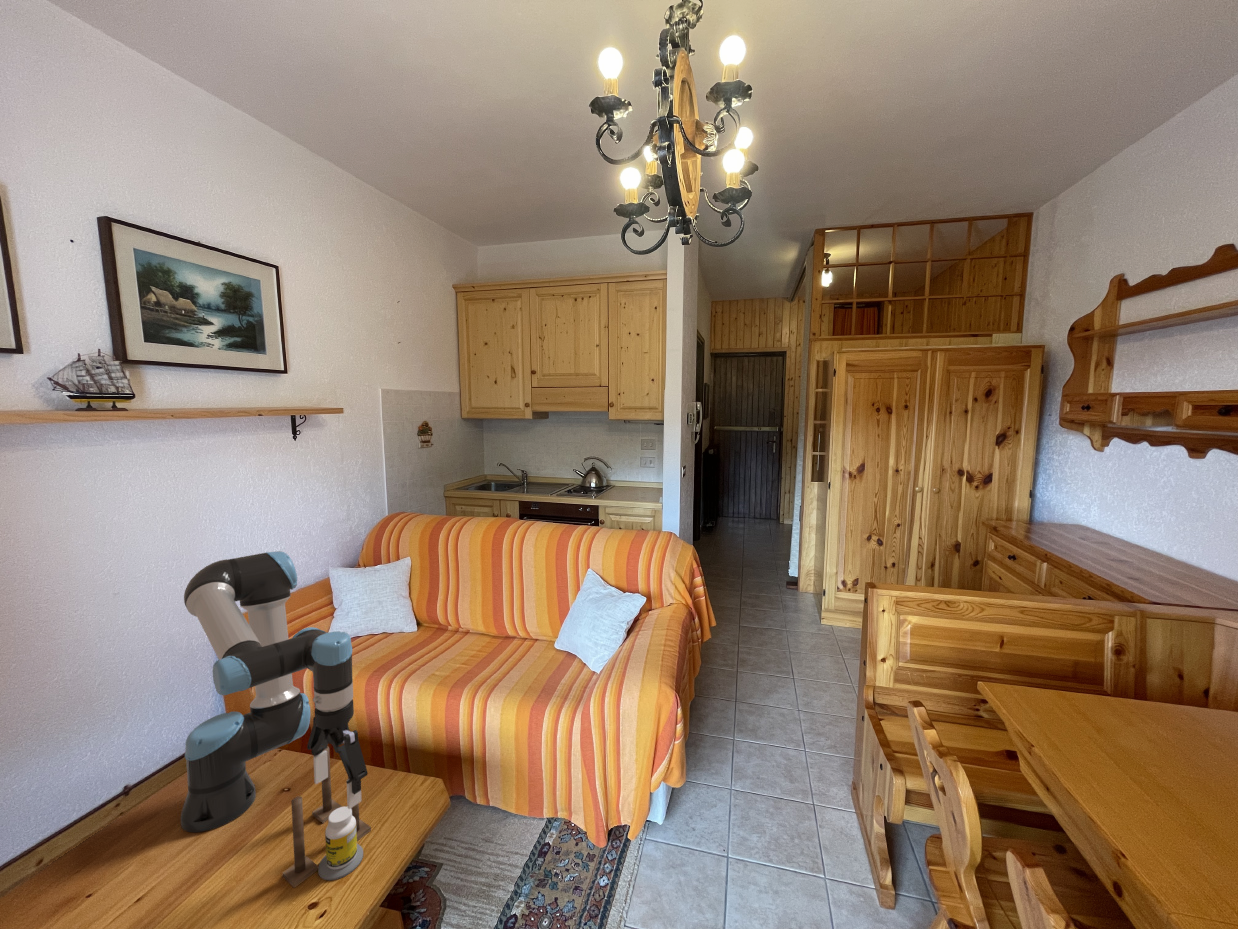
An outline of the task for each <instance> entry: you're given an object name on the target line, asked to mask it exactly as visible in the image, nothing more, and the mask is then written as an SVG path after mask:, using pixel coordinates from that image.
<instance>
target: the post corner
mask: <svg viewBox="0 0 1238 929" xmlns="http://www.w3.org/2000/svg"><path fill="white" fill-rule="evenodd" d="M347 779H349V777H348V776H347ZM359 804H360V802H359V803H358V804H356V805H355V806H353V807H352V808H351V809H352V816H354V817H355V819H356V832H357V842H358V841H359V840H361V839H362V838H364V837H365V836H366V835H368V834H369V833H370V832H371V831H372V827H371V826H370V825H369V824H367V823H366V822H365V821H363V820H362V819H361V818H360V808H359V807H360V805H359Z"/></svg>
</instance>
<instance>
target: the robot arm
mask: <svg viewBox="0 0 1238 929" xmlns="http://www.w3.org/2000/svg"><path fill="white" fill-rule="evenodd" d="M297 585H298V573H297V571H296V567H295V564H294V562H293V560H292V559H291V557H290V556H289V555H288V554H287V552H285V551H280V550H279V551H269V552H267V551H266V552H262V553H256V554H252V555H250V554H249V555H244V556H241V557H236V558H235V557H234V558H228V559H221V560H218V561H215V562H212V563H209V564H208V565H206V566H204V567H203V568H202V569H200V570H199V571H198V572H196V573H195V574H194V575H193V577H192V578H191V579H190V580H189V582H188V584H187V585H186V588H185V590H184V594H183V601H184V605H185V607H186V609H187V612H188V613H189V614H190V615H192V616H193V617H197V620H198V621H199V623H200V626H201V627H202V629H203V632H204V633H205V635H206V637H207V639H208V642H209V643H210V645H211V647H212V649H213V651H214V653H215V655H216V656H217V658H218V660H216V661H215V662H214V664H213V667H212V679H213V684H214V688H215V691H216V692H217V694H218V695H220V696H227V695H230V694H235V693H237V692H243V691H246V690H249V689H250V688H255V689H254V690H255V697H254V699H253V700H252V701H251V702H250V704H249V710H250V711H249V712H248V713H244V714H242V713H241V712H239V711H230V712H224V713H221V714H217V715H215V716H213V717H210V718H208V719H207V720H204V721H202V723H200V724H198V725H196V727H195V728H193V730H192V731H191V732H189V734H188V735H187V737H186V740H185V749H184V750H185V752H184V758H185V761H186V762H185V763H186V773H187V774H186V775H187V776H186V777H187V794H186V797H185V801H184V803H183V806H182V809H181V813H180V825H181V829H182V830H184V831H186V832H189V833H202V832H208V831H210V830H214V829H217V828H219V827H222V826H224V825H226V824H228V823H231V822H232V821H234V820H235V819H237V818H239V817H241V816H242V815H243V814H244V813H246V812H247V810H249V809H250V807H251V806H252V805H253V803H254V802H255V800H256V794H257V793H256V785H255V784H254V782H253V780H252V778H251V777H250V775H249V773H248V771H247V767H246V765H247V764H246V762H248V761H251V760H252V759H255V758H257V757H260V756H262V755H264V754H267V753H268V752H271V751H274V750H276V749H278V748H280V747H283V746H285V745H289V744H290V743H292V742H293V741H296V740H297V739H300V738H302V737H303V736H304V735H305V734H306V732H307V731H308V729H309V727H310V721H311V705H310V700H309V697H308V696H307V694H306V693H303V692H301V690H300V688H299V687H296V686H294V682H293V674H295V673H297V672H300V671H302V670H305V669H308V670H309V671H310V672H312V677H313V678H312V679H313V694H314V696H313V698H312V701H313V703H314V717H313V720H312V722H313V723H312V724H313V725H312V728H311V732H310V735H309V738H308V742H307V746H306V747H307V750H308V751H310V750H311V755H312V756H313V775H314V777H313V778H314V784H315V785H318V784H319V783H322V781H323V780H324V779H326V778H328V759H327V751H326V750H325V751H323V750H324V749H326V748H328V747H327V746H328V745H332V748H333V749H334V752H335V753H337V754H339V755H338V756H339V758H340V760H341V762H342V764H343V767H344V770H345V773H346V775H347V779H346V781H345V783H346V795H347V796H346V799H347V800H346V802H347V803H346V804H347V805H346V806H347V808H348V809H351V808H352V807H353V806H355V805H356V804H358V803H359V804H360V803H361V802H362V779H363V778H365V777H366V776H368V775H369V774H368V770H367V769H368V768H367V766H366V762H365V759H364V755H363V752H362V749H361V745H360V742H359V733H358V730H357V729H355V730H352V731H350V729H349V722H350V721H351V720H352V718H353V716H354V715H355V714H354V712H355V711H354V709H355V707H354V699H353V698H354V682H353V681H354V679H353V646H352V638H351V635H350V634H349V633H347V632H345V631H343V632H341V631H339V630H338V631H337V630H336V631H331V632H326V630H322V629H319V628H318V627H313V626H310V627H309V626H308V627H305V628H303V629H301V630H299V631H297V633H295V634H294V635H293V636H292V637H291V638H289V630H288V621H287V612H286V611H287V610H286V603H287V601H288V600H289V599H290V598H291V590H294V589H295V588H296V587H297ZM236 602H239V606H238V604H237V603H236ZM240 608H242V609H243V610H246V611H247V616H248V617H247V618H248V620H247V619H246V617H245V616H244V614H243V612H242V610H241V609H240ZM348 777H349V779H348Z"/></svg>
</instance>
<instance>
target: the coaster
mask: <svg viewBox="0 0 1238 929" xmlns="http://www.w3.org/2000/svg"><path fill="white" fill-rule="evenodd" d="M363 858H364V849H363V847H362V846H361V845H360V844H359V843H357V855H356V857H355V858H354V860H353V861H352V862H351V863H350V864H349V865H347V866H345V867H343V868H341V869H337V870H333V869H330V868H329V867H328V866H327V862H326V854H325V855H324V856H323V858H321V860H320V862H319V864H318V870H317V873H318V876H319V877H320V879H322V880H324V881H335V880H339V879H342V878H345V877H346V876H348V875H350V874H351V873H352V872H354V871H355V870H356V869H357V868H358V867H359V866H360V865H361V863H362V861H363Z"/></svg>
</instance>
